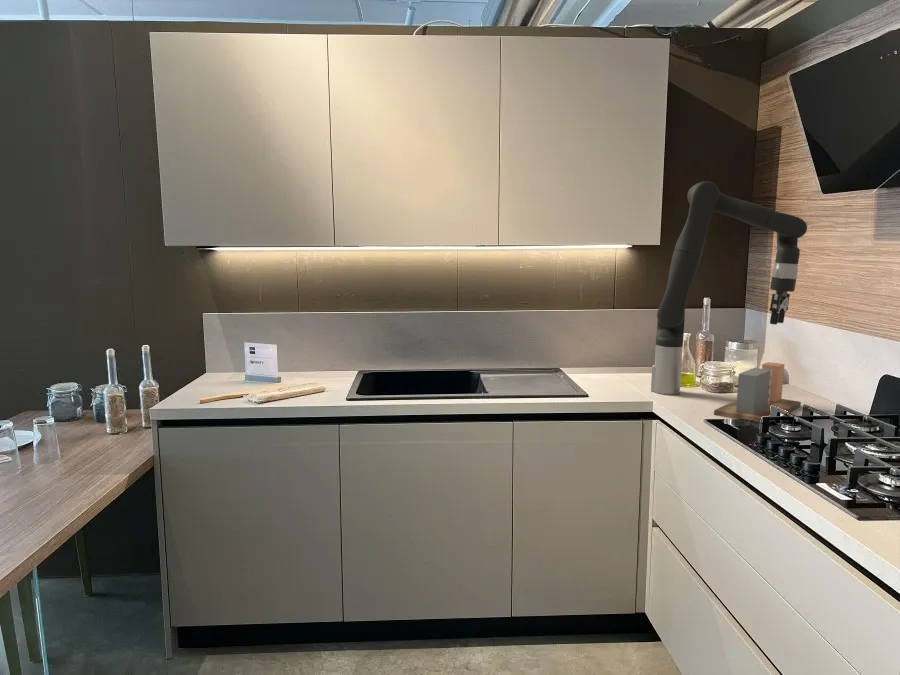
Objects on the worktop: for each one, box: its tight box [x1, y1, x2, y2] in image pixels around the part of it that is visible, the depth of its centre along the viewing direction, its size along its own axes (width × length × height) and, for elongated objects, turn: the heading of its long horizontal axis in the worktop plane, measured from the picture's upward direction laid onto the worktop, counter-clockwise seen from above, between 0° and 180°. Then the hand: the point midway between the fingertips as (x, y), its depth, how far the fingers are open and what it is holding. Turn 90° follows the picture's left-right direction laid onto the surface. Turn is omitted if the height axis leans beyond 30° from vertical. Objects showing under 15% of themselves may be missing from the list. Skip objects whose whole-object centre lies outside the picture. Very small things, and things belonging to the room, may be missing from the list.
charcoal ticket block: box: [736, 367, 772, 415], centre depth 194 cm, size 5×14×12 cm, turn 136°
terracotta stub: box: [761, 361, 785, 402], centre depth 207 cm, size 5×6×12 cm
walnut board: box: [713, 398, 802, 422], centre depth 200 cm, size 16×32×2 cm, turn 136°
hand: (776, 323), depth 214 cm, fingers open, 8 cm apart
